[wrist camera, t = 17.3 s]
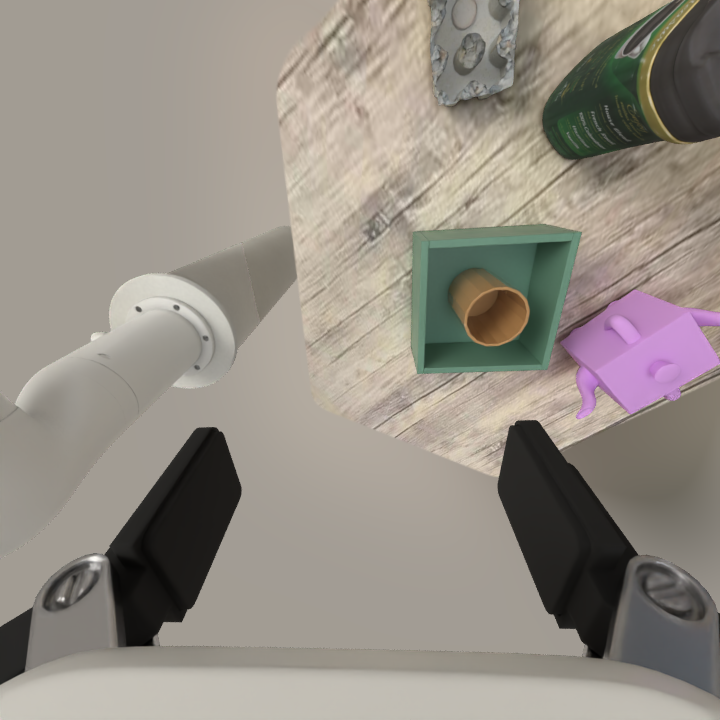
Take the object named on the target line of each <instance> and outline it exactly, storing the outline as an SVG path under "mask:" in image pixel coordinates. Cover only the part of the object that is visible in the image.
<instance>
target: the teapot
mask: <svg viewBox="0 0 720 720" xmlns="http://www.w3.org/2000/svg"><path fill="white" fill-rule="evenodd" d="M700 326H720V312H713V311H707V310H702V309H696V308H681V307H679V306H676V305H674V304H671V303H669V302H666V301H663V300H661V299H658V298H656V297H653V296H651V295H648V294H646V293H643V292H640V291H638V290H635V289H634V290H633V291H632V292H630V293H629V294H627V295H626V296H624V297H623V298H622V299H620V300H619V301H614V302H612V303H610V304H609V305H608V306H607V308H606V310H605V311H603V312H602V313H600V314H599V315H598V316H596V317H595V318H593V319H592V320H591V321H589V322H588V323H586V324H585V325H584V326H582V327H579V328H575V329H574V330H572V331H571V333H570V335H569V336H568V337H567V338H565V339H564V340H563V341H561V342H560V344H561V345H562V346H563V347H564V348H565V349H566V351H567V352H568V353H569V354H570V355H571V356H572V358H573V359H574V360H575V361H576V362H577V364H578V365H579V366H580V368H579V370H578V372H577V374H576V383H577V386H578V389H579V391H580V394H581V396H582V401H583V404H582V407H581V409H580V411H579V412H578V413H577V415H576V418H577V419H581V418H583V417H585V416H587V415H589V414H590V413H591V412H592V411H593V410H594V408H595V406H596V398H595V395H594V390H595V388H596V387H597V386H599V387H600V388H601V389H602V390H603V391H604V392H605V393H607V394H608V395H609V396H610V397H611V398H612V399H613V400H614V401H616V402H617V403H618V404H619V405H620V406H621V407H622V408H623V409H625V410H626V411H627V412H628V413H629V414H632V413H634V412H636V411H638V410H640V409H641V408H643V407H645V406H647V405H648V404H650V403H652V402H654V401H656V400H657V399H659V398H661V397H664V398H666V399H668V400H670V401H673V400H677V399H678V398H679V397H680V396H681V392H680V389H679V387H680V386H682V385H684V384H686V383H687V382H689V381H691V380H693V379H694V378H696V377H698V376H700V375H701V374H703V373H705V372H707V371H708V370H710V369H712V368H713V367H715V366H717V365H719V364H720V359H719V358H718V356H717V355H716V353H715V352H714V350H713V348H712V347H711V345H710V344H709V342H708V340H707V339H706V337H705V336H704V334H703V333H702V331H701V329H700V328H699V327H700Z"/></svg>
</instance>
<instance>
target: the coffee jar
mask: <svg viewBox="0 0 720 720" xmlns="http://www.w3.org/2000/svg"><path fill="white" fill-rule="evenodd" d="M543 128H544V131H545V133H546V135H547V138H548V139H549V141H550V142H551V144H552V146H553V147H554V148H555V150H556V151H557V152H558V153H559V154H560V155H562V156H563V157H564V158H567V159H571V160H576V159H583V158H588V157H593V156H597V155H601V154H605V153H609V152H613V151H617V150H621V149H625V148H630V147H635V146H639V145H644V144H649V143H653V142H658V141H668V142H671V143H676V144H692V143H697V142H701V141H705V140H708V139H712V138H716V137H720V0H673V1H672V2H670V3H668V4H667V5H665V6H663V7H662V8H660V9H658V10H656V11H655V12H653V13H651V14H650V15H648V16H646V17H645V18H643V19H641V20H640V21H638V22H636V23H634V24H632V25H631V26H629V27H627V28H625V29H623V30H622V31H620V32H618V33H617V34H615V35H613V36H612V37H610V38H608V39H607V40H605V41H604V42H602V43H601V44H600V45H599V46H597V47H596V48H595V49H594V50H592V51H591V52H590V53H589V54H588V55H587V56H586V57H585V58H584V59H583V60H582V61H581V62H580V63H579V64H578V65H577V66H576V67H575V68H574V69H573V70H572V71H571V72H570V73H569V74H568V75H567V76H566V77H565V78H564V80H563V81H562V82H561V83H560V84H559V86H558V87H557V88H556V90H555V91H554V92H553V93H552V95H551V96H550V98H549V99H548V101H547V103H546V105H545V108H544V112H543Z"/></svg>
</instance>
